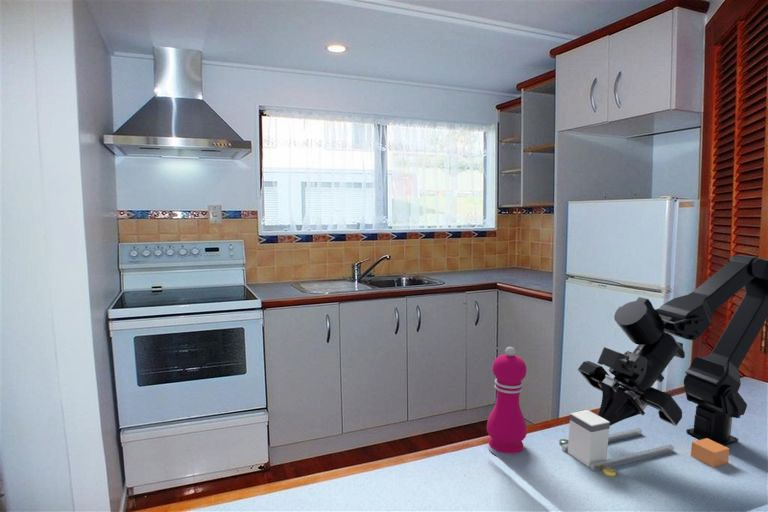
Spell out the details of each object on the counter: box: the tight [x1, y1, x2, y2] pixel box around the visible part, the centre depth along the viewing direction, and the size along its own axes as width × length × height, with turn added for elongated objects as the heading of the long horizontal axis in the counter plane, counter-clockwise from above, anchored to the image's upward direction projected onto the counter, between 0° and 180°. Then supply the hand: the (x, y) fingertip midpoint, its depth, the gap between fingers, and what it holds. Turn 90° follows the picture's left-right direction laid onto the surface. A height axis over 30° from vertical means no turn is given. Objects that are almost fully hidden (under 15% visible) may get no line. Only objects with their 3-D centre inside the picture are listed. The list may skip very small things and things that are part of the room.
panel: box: [558, 427, 675, 478], centre depth 90 cm, size 20×14×2 cm
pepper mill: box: [486, 346, 528, 458], centre depth 90 cm, size 7×7×20 cm
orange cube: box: [690, 438, 730, 468], centre depth 87 cm, size 4×4×4 cm
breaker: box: [567, 409, 610, 468], centre depth 87 cm, size 4×5×8 cm
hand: (598, 427), depth 87 cm, fingers closed, pressing on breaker
